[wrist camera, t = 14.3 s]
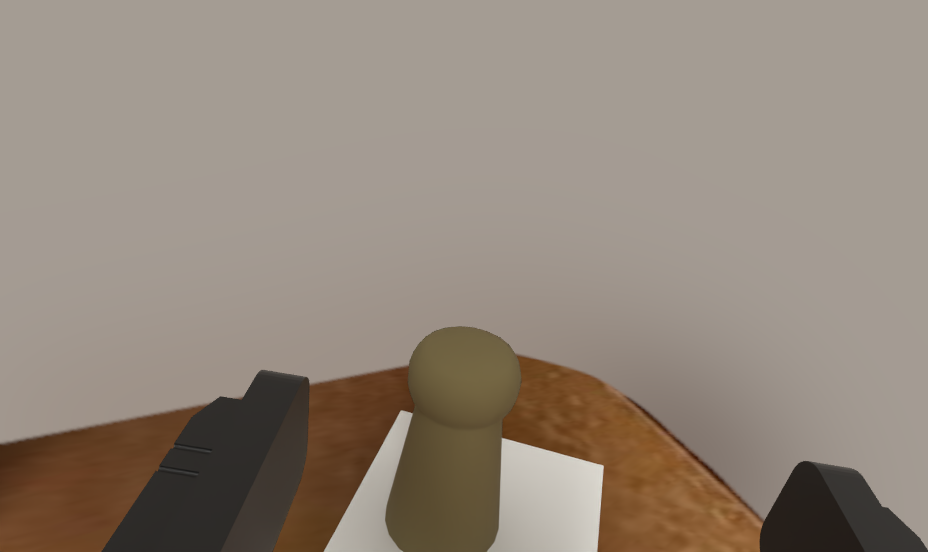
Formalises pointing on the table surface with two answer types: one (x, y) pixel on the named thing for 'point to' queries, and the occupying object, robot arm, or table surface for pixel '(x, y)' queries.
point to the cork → (453, 443)
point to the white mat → (521, 501)
